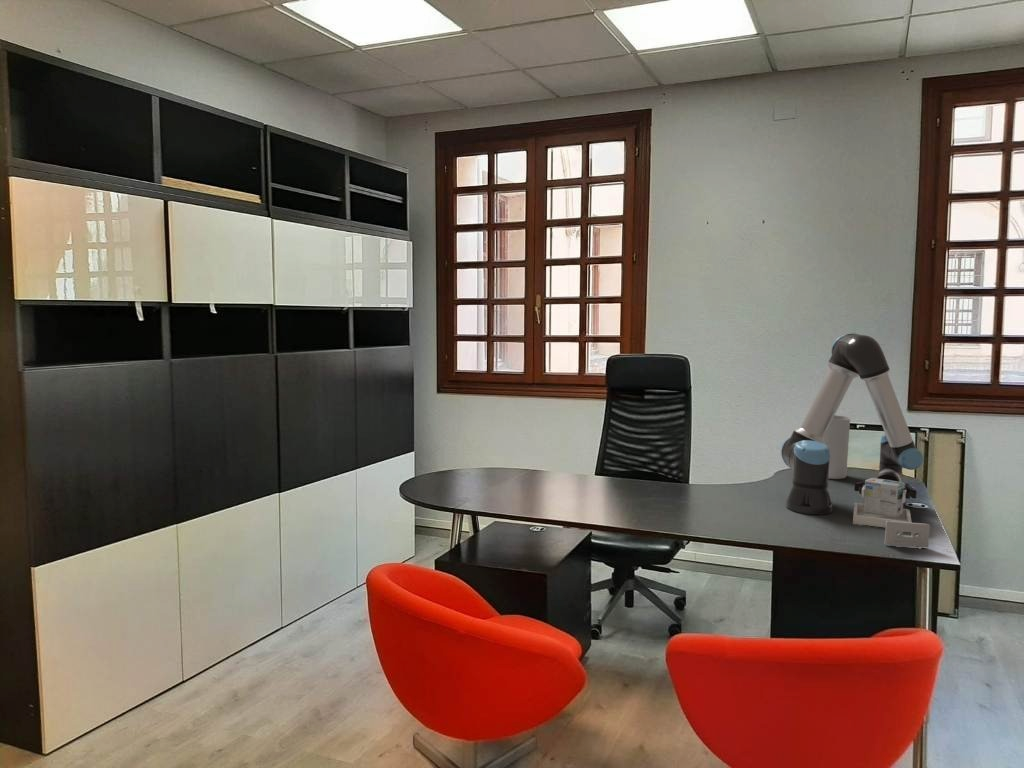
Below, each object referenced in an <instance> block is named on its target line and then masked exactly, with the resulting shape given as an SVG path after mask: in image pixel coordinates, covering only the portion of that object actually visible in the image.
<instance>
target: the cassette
mask: <svg viewBox="0 0 1024 768" xmlns="http://www.w3.org/2000/svg"><path fill="white" fill-rule="evenodd" d="M930 525H931V524H929V523H921V522H912V523H910V522H896V521H886V528H884V529H885V531H884V540H883V541H884V543H883V544H893V545H902V546H915V547H928V548H929V543H930V531H931V526H930ZM903 533H910V534H911V535H906V534H905V535H903Z"/></svg>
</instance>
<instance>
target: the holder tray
mask: <svg viewBox="0 0 1024 768" xmlns="http://www.w3.org/2000/svg"><path fill="white" fill-rule="evenodd" d="M853 506H854V507H853V516H852V518H853V519H852V525H854V524H861V525H860V526H862V525H869V526H868V527H870V526H878V527H886V521H896V522H910V523H913V522H912V518H911V511H910V509H908V508H903V513H902V514H900V515H899V516H897V517H893V516H888V515H882V514H877V513H872V512H866V511H864V503H860V502H859V503H858V502H854V505H853Z"/></svg>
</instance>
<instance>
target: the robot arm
mask: <svg viewBox="0 0 1024 768" xmlns="http://www.w3.org/2000/svg"><path fill="white" fill-rule="evenodd" d="M830 351H831V355H830V358H829V359H828V362H827V364H828V367H829V369H828V372H827V373H826V376H825V378H824V379H823V381H822V383H821V385H820V387H819V389H818V392H817V393H816V395H815V398H814V400H813V401H812V404H811V405H810V407H809V409H808V412H807V413H806V415H805V417H804V419H803V421H802V423H801V425H800V426H799V428H795V429H793V431H792V433H791V435H790V437H789V438H787V439H785V440H784V442H783V443H782V445H781V449H780V456H781V459H782V460H783V463H785V465H786V466H787V468H790V469H791V470H792V484H791V485H792V486H791V487H790V490H789V493H788V495H787V498H786V500H785V507H786V508H787V509H788V510H790V511H792V512H795V513H799V514H806V515H827V514H831V513H832V511H833V505H832V500H831V497H830V493H829V490H828V488H829V479H828V476H829V461H830V449H829V447H828V446H827V445H825V442H824V440H823V437H824V435H825V433H826V431H827V429H828V427H829V425H830V423H831V421H832V419H833V417H834V415H836V413H837V411H838V409H839V407H840V405H841V403H842V402H843V400H844V397H845V396H846V393H847V391H848V389H849V387H850V385H851V384H852V383H853V380H854V379H855V378H860V379H861V380H862V381H863V382H864V383H865V385H866V388H867V391H868V393H869V396H870V398H871V401H872V403H873V406H874V409H875V411H876V414H877V416H878V418H879V422H880V424H881V426H882V429H883V432H884V433H882V435H881V438H880V442H879V444H880V448H879V449H880V454H879V466H878V467H879V468H878V475H877V477H876V478H877V479H885V480H891V481H898V482H902V480H903V476H904V475H903V474H904V473H903V469H905V470H910V471H915V470H918V469H919V468H921V466H922V465H923V463H924V455H923V453H922V452H921V451H920V450H919V449H918V448H916V445H915V442H914V440H913V437H912V435H911V434H912V433H911V432H910V429H909V426H908V424H907V421H906V419H905V416H904V413H903V411H902V408H901V406H900V403H899V400H898V398H897V395H896V392H895V389H894V386H893V384H892V382H891V379H890V376H889V372H890V366H889V364H888V361H887V359H886V356H885V353H884V351H883V349H882V347H881V345H880V343H879V342H878V341H877V340H876V339H875V338H873V337H871V336H870V335H865V334H859V333H854V332H853V333H845V334H842V335H840V336H839V337H838V338H836V339H835V340H834V341H833V343H832V346H831V350H830ZM867 479H868V478H866V479H865V480H867ZM865 480H862V481H859V482H855V483H854V492H858V493H859V495H860V496H861V497H860V498H863V499H864V492H865ZM917 492H918V491H917V490H916V489H914V488H913V486H910V484H909V483H906V484H905V483H904V491H903V497H902V502H903V504H904V503H906V499H907V500H910V498H912V499H917Z"/></svg>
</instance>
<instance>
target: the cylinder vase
mask: <svg viewBox="0 0 1024 768" xmlns="http://www.w3.org/2000/svg"><path fill="white" fill-rule="evenodd" d="M850 424H851V418H850V417H848V416H844V415H836V414H835V415H834V417H833V419H832V421H831V423H830V425H829V427H828V429H827V431H826V433H825V435H824V437H823V440H824V442H825V445H827V446H828V447H829V449H830V461H829V476H828V480H842V479H843V480H844V479H846V477H847V475H848V474H847V471H848V455H849V441H850V426H851V425H850Z"/></svg>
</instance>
